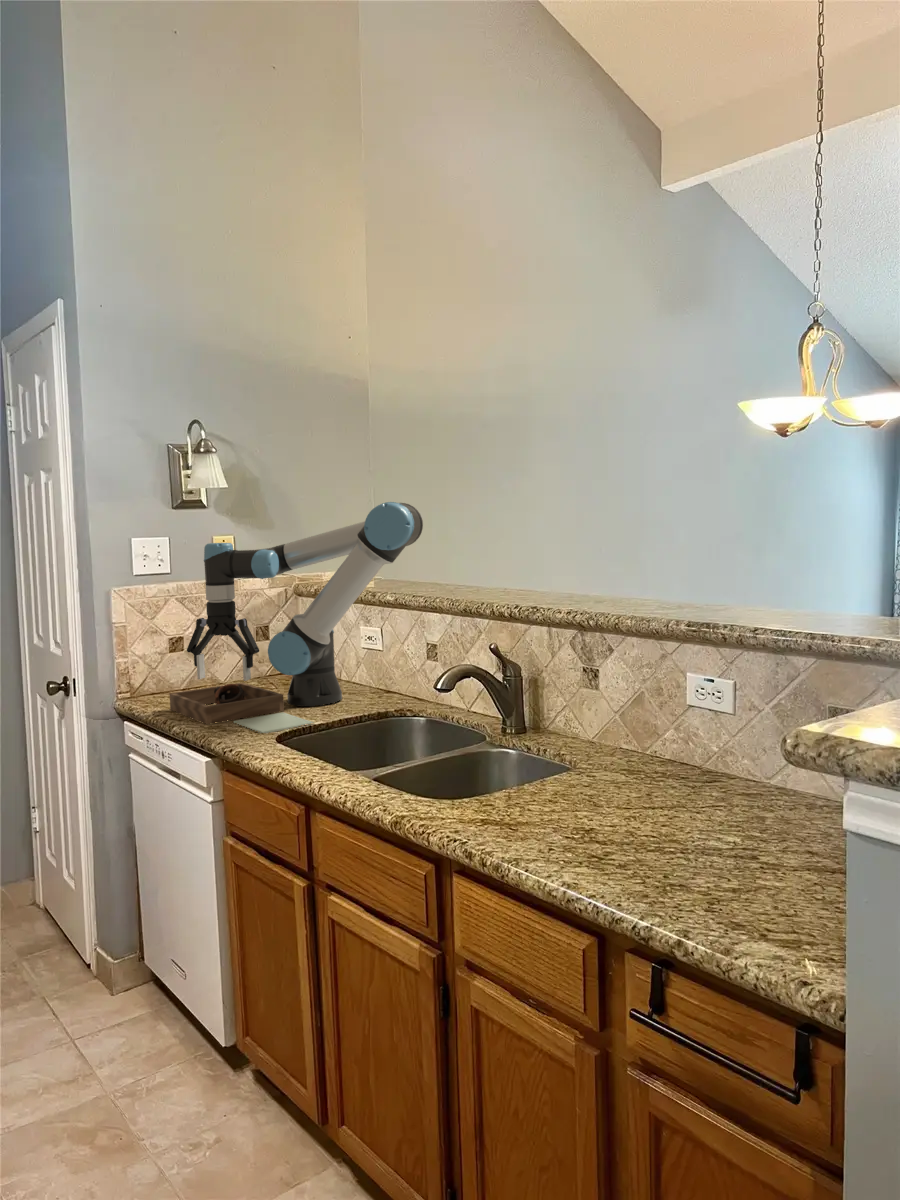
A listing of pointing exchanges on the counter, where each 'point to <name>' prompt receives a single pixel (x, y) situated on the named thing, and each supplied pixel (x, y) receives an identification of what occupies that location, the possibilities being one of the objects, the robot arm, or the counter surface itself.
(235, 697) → the pottery mug
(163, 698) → the counter surface
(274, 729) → the cutting board
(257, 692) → the walnut crate
